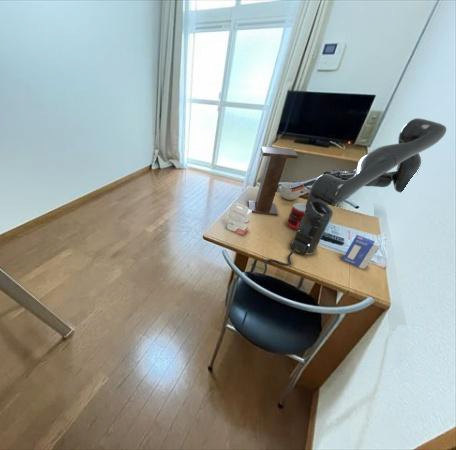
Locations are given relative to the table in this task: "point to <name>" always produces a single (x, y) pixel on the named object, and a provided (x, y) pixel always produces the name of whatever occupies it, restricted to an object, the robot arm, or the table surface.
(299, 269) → the table surface
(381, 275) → the table surface
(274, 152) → the walnut stand
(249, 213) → the ink cartridge box
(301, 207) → the canned food
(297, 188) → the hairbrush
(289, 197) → the teacup
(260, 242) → the table surface
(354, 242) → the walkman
